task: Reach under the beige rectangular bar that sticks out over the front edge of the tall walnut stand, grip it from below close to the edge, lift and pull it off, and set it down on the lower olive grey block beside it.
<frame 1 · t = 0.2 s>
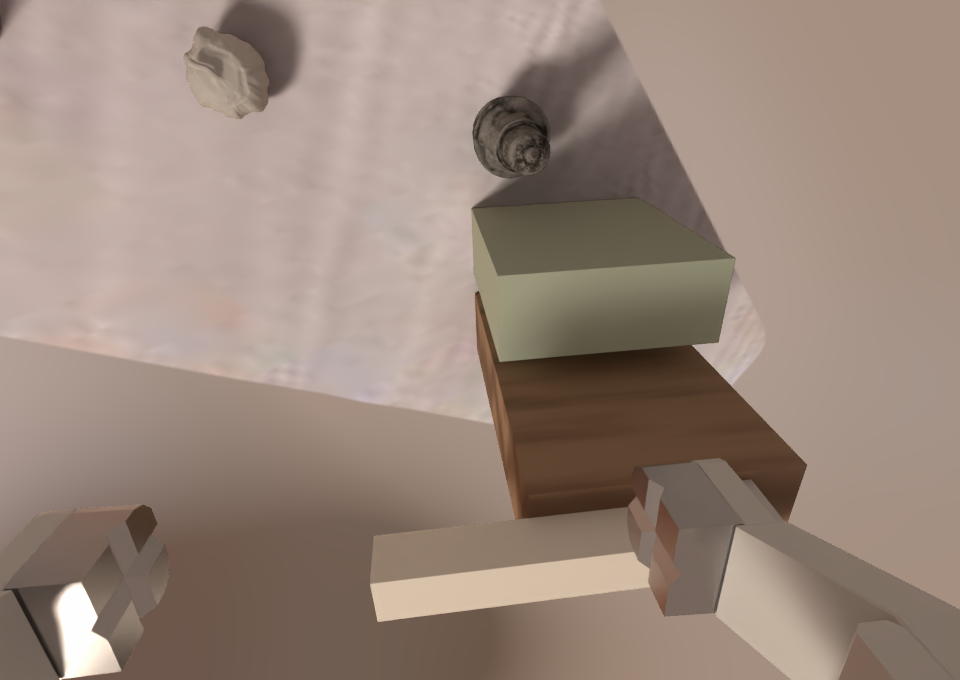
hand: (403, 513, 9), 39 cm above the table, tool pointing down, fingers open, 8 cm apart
beige rectangular bar: (565, 532, 29), point 26 cm above the table, touching tall stand
garlic: (237, 74, 39), on the table
tall stand: (552, 315, 52), on the table
stone chess bishop: (504, 132, 43), on the table
olive grey block: (555, 236, 48), on the table
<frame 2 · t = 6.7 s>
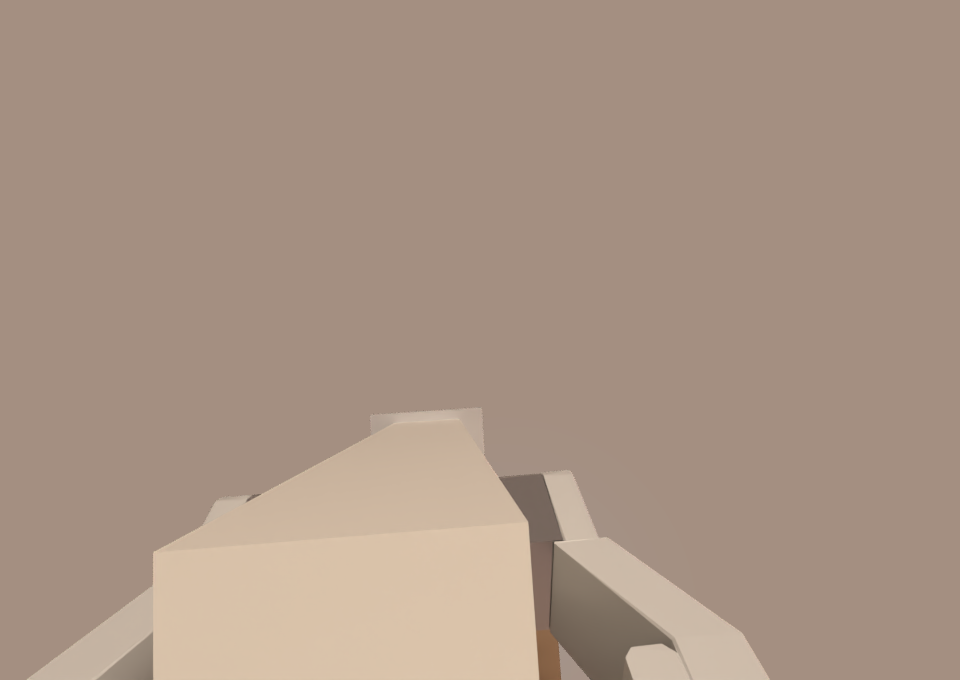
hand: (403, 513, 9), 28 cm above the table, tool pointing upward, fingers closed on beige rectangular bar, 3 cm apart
beige rectangular bar: (421, 546, 14), point 26 cm above the table, touching gripper, tall stand
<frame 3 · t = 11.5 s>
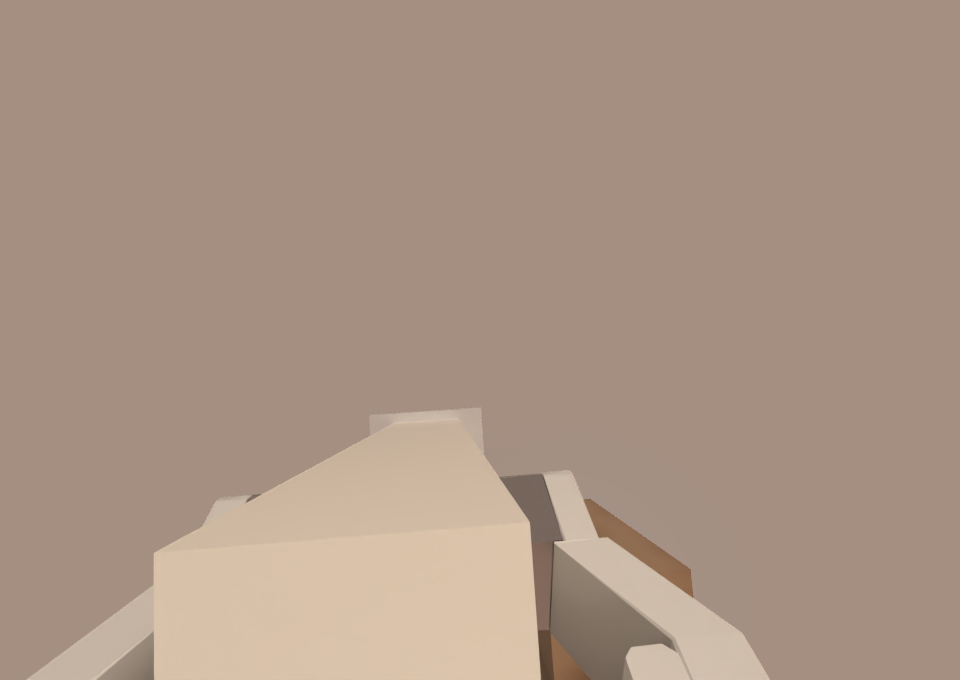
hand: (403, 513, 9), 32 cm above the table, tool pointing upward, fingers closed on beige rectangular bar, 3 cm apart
beige rectangular bar: (420, 546, 14), point 30 cm above the table, touching gripper
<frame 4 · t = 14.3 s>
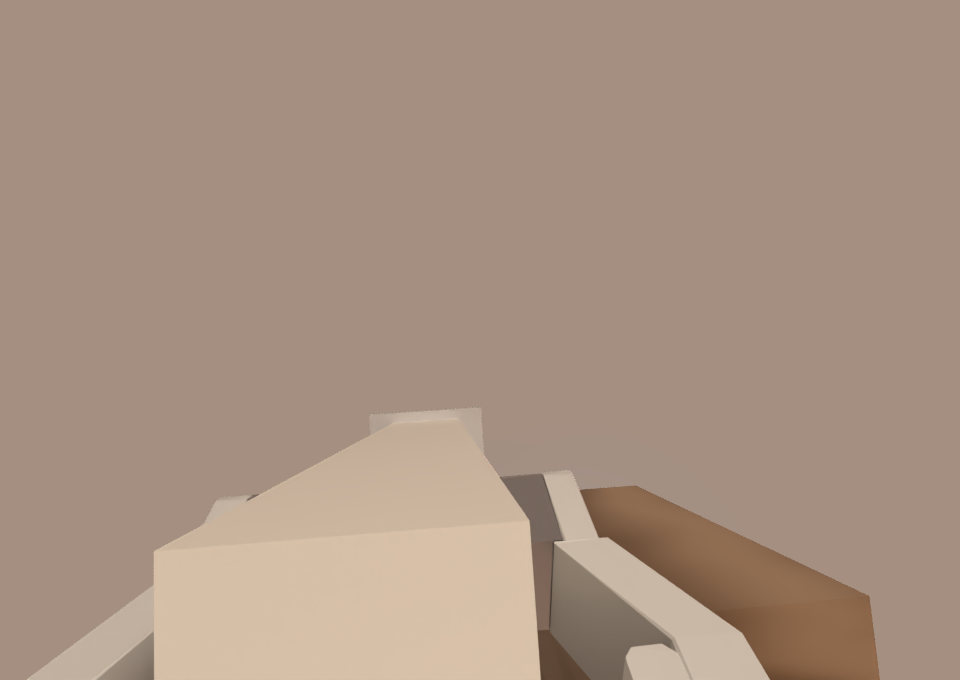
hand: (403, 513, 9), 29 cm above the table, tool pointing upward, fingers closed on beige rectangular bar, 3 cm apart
beige rectangular bar: (420, 546, 14), point 27 cm above the table, touching gripper
when the fingers open (19 cm above the table, at t = 16.6 s): beige rectangular bar drops 2 cm, resting on olive grey block.
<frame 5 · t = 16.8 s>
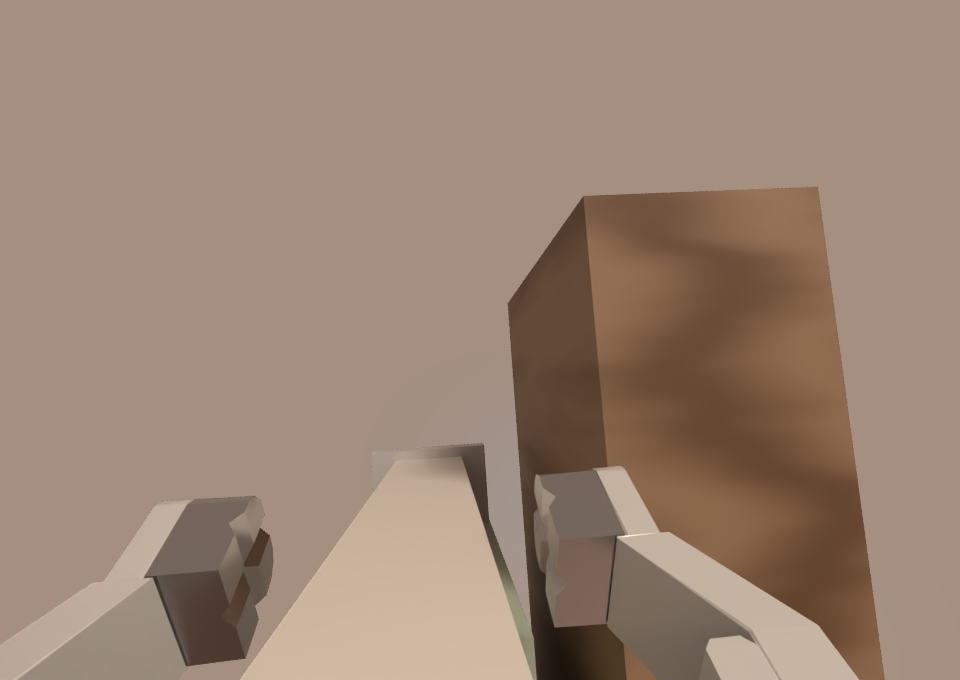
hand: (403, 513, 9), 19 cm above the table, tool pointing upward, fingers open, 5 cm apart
beige rectangular bar: (426, 612, 13), point 16 cm above the table, touching olive grey block
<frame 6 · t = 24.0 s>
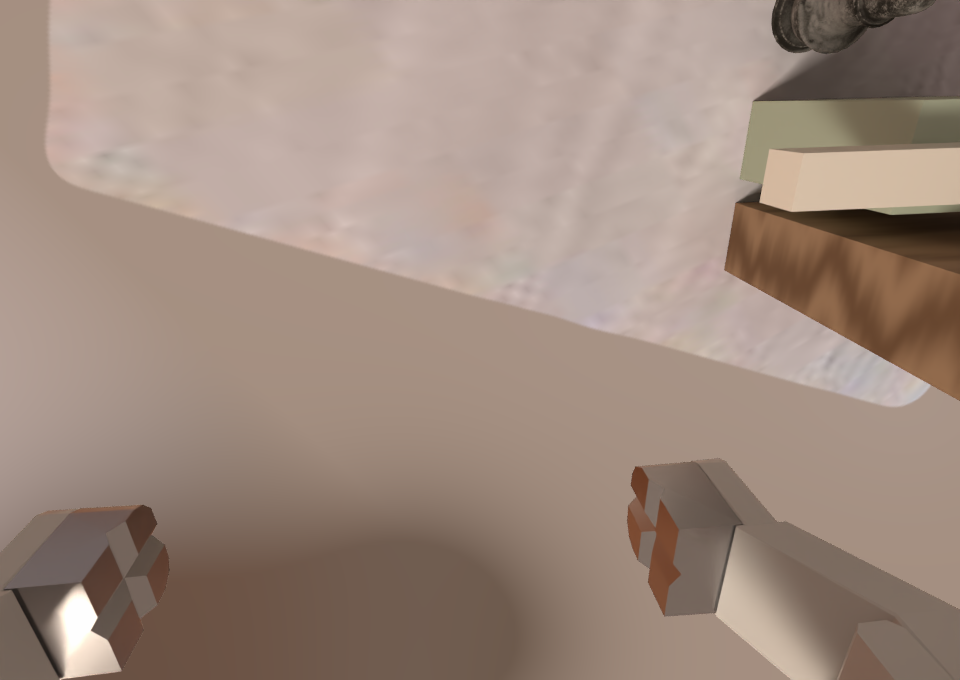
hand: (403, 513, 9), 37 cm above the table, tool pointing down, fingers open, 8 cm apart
beige rectangular bar: (935, 169, 30), point 16 cm above the table, touching olive grey block
tall stand: (810, 233, 48), on the table
stone chess bishop: (803, 14, 40), on the table
olive grey block: (832, 138, 44), on the table
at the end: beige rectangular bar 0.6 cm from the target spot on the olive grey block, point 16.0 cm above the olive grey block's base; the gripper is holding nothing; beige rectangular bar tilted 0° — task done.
